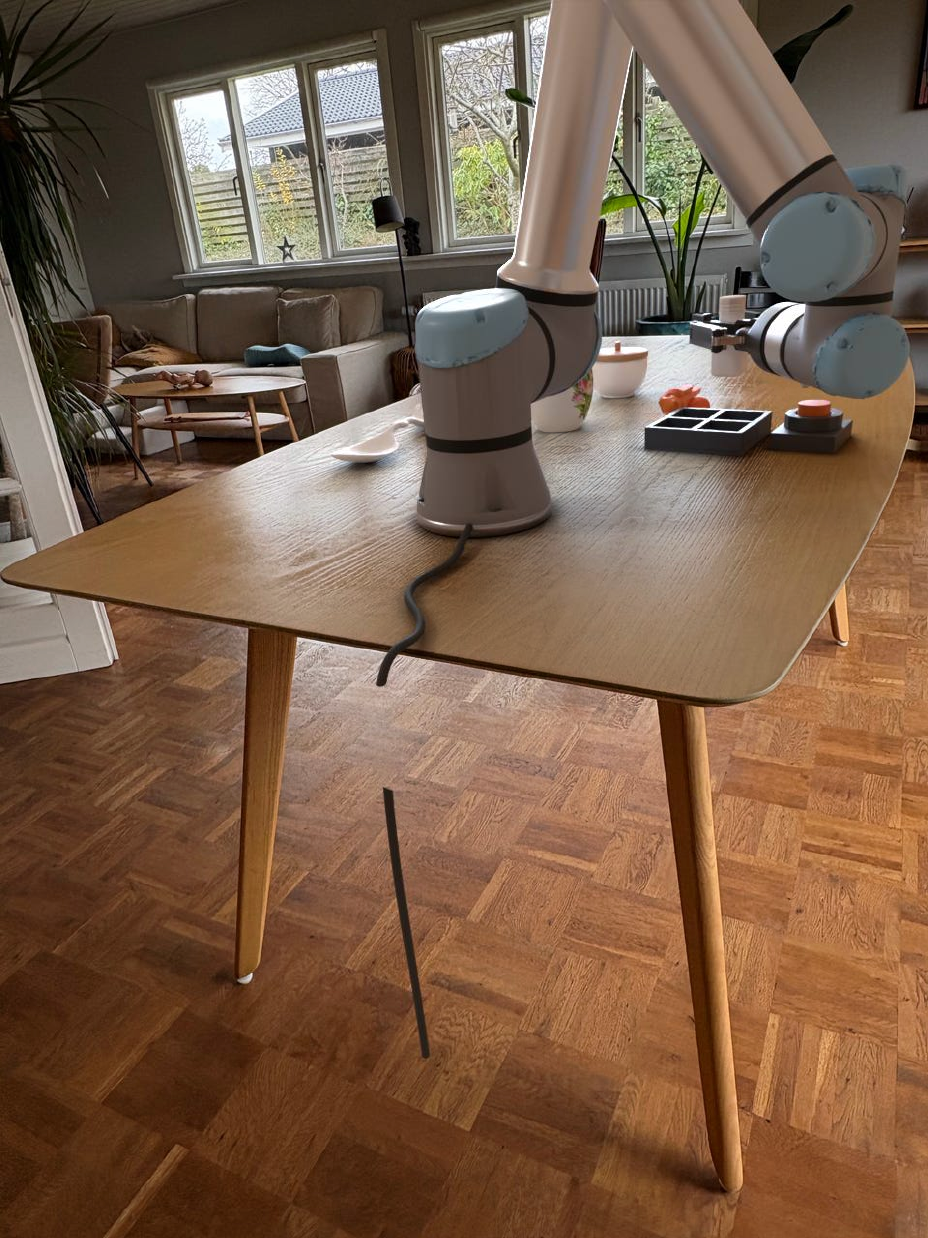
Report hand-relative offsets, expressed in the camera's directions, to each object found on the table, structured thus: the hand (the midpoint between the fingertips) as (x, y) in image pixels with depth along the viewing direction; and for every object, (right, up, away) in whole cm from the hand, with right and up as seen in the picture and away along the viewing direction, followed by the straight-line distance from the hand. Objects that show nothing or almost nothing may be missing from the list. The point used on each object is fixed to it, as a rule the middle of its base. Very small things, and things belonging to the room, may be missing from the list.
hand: (716, 322), depth 107 cm
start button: (+13, -12, 0) cm, 18 cm away
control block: (+13, -16, +2) cm, 21 cm away
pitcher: (-18, -9, +22) cm, 30 cm away
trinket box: (-5, +2, +41) cm, 42 cm away
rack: (+1, -14, +6) cm, 16 cm away
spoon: (-44, -12, +20) cm, 49 cm away
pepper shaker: (+1, -8, -2) cm, 8 cm away
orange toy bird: (+2, -8, +20) cm, 22 cm away
